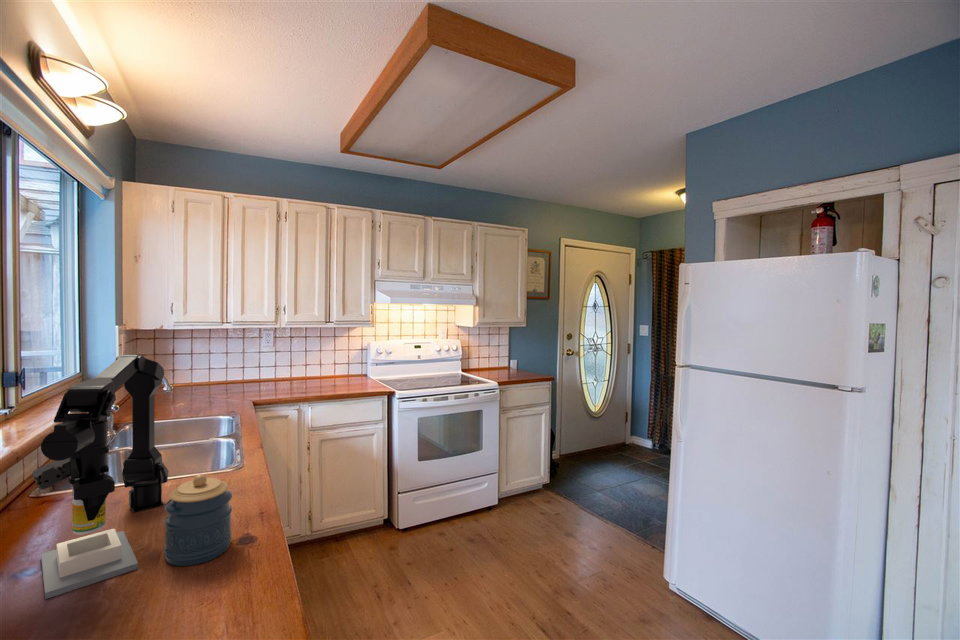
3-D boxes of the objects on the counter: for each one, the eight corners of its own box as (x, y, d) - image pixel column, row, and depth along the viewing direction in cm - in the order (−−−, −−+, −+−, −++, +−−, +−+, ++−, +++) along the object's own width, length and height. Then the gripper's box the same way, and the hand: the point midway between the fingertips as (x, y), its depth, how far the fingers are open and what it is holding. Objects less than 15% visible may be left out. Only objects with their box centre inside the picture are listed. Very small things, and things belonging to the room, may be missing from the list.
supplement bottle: (77, 525, 95) (77, 481, 95) (109, 520, 98) (109, 478, 97) (67, 537, 90) (67, 492, 90) (100, 532, 93) (101, 488, 92)
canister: (222, 530, 110) (223, 460, 109) (238, 552, 100) (240, 476, 100) (159, 549, 101) (159, 473, 100) (170, 575, 91) (171, 492, 91)
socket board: (123, 535, 105) (123, 518, 105) (137, 568, 93) (138, 549, 93) (41, 558, 95) (41, 539, 95) (45, 599, 83) (45, 577, 83)
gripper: (34, 440, 94) (34, 511, 94) (37, 465, 81) (37, 547, 82) (102, 430, 102) (102, 496, 103) (115, 451, 89) (115, 526, 90)
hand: (89, 515), depth 94 cm, fingers closed on supplement bottle, 5 cm apart
